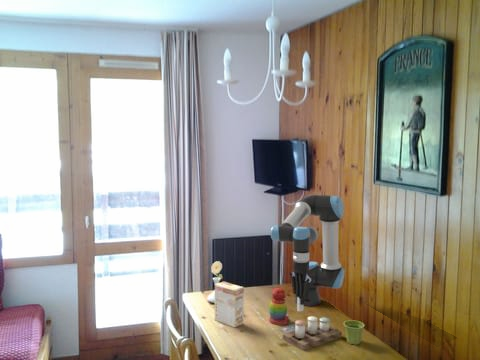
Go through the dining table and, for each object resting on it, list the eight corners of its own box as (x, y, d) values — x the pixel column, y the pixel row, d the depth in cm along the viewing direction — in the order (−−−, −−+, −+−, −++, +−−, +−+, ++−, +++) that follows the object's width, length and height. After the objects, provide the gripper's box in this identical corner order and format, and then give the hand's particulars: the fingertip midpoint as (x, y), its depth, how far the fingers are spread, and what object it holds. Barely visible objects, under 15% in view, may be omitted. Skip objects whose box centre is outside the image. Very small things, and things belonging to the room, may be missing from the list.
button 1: (300, 333, 211) (300, 319, 211) (307, 336, 207) (307, 322, 207) (292, 335, 209) (292, 321, 208) (299, 339, 205) (299, 324, 204)
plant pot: (352, 348, 202) (353, 329, 202) (339, 340, 211) (339, 322, 210) (368, 343, 207) (368, 325, 206) (354, 336, 215) (354, 318, 214)
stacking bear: (287, 326, 227) (287, 292, 226) (267, 324, 229) (267, 290, 228) (289, 318, 237) (289, 285, 236) (270, 316, 239) (270, 284, 238)
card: (299, 323, 231) (299, 322, 231) (307, 327, 226) (307, 325, 226) (278, 329, 223) (278, 328, 223) (286, 333, 218) (286, 332, 218)
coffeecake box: (244, 324, 230) (244, 287, 228) (234, 328, 224) (234, 290, 223) (223, 316, 240) (223, 280, 238) (214, 320, 235) (214, 283, 233)
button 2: (324, 330, 221) (324, 316, 220) (331, 333, 217) (331, 319, 216) (317, 332, 218) (317, 318, 217) (324, 335, 214) (324, 322, 213)
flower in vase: (204, 299, 266) (204, 258, 264) (222, 297, 270) (221, 256, 268) (212, 306, 254) (212, 263, 252) (230, 303, 258) (230, 261, 257)
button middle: (312, 329, 216) (312, 315, 215) (319, 332, 212) (319, 318, 211) (305, 331, 213) (305, 317, 213) (312, 335, 209) (312, 320, 209)
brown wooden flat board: (320, 327, 226) (320, 322, 225) (341, 336, 214) (341, 331, 214) (282, 339, 211) (282, 334, 211) (303, 350, 200) (303, 345, 200)
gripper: (285, 258, 208) (284, 308, 210) (304, 264, 198) (304, 316, 199) (297, 256, 213) (296, 305, 214) (317, 262, 202) (316, 313, 204)
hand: (300, 310), depth 207 cm, fingers closed
